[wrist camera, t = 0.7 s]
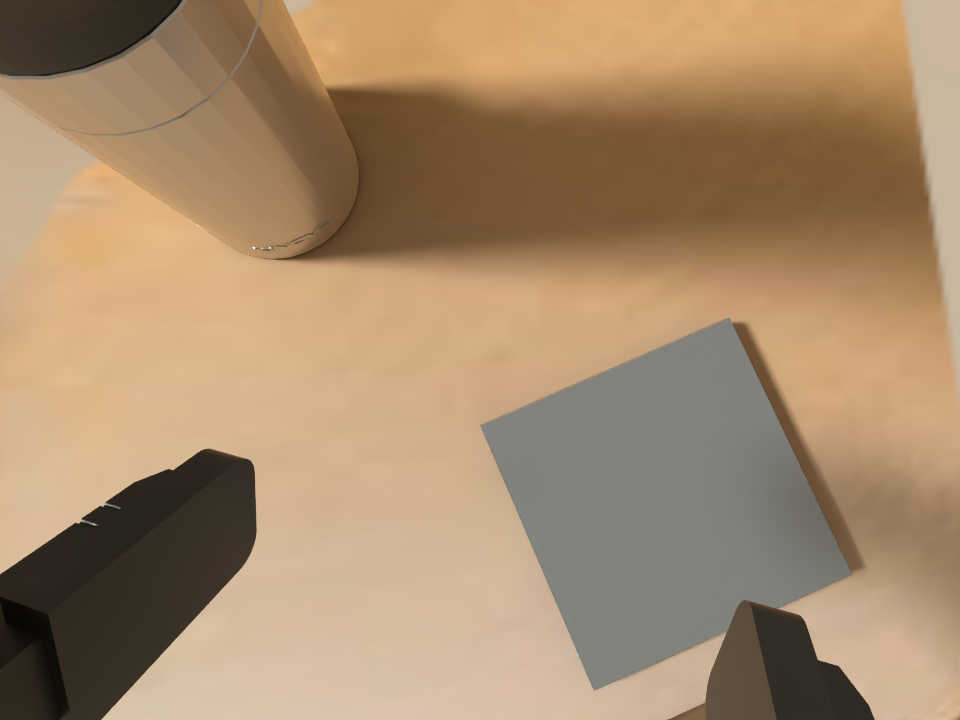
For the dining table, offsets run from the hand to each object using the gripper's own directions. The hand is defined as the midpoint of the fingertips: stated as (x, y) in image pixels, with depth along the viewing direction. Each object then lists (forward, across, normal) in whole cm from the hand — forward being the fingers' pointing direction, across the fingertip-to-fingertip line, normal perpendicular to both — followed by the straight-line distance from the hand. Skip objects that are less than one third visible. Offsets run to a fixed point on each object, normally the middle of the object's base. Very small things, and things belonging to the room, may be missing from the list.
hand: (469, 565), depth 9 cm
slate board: (+20, -6, +11) cm, 24 cm away
